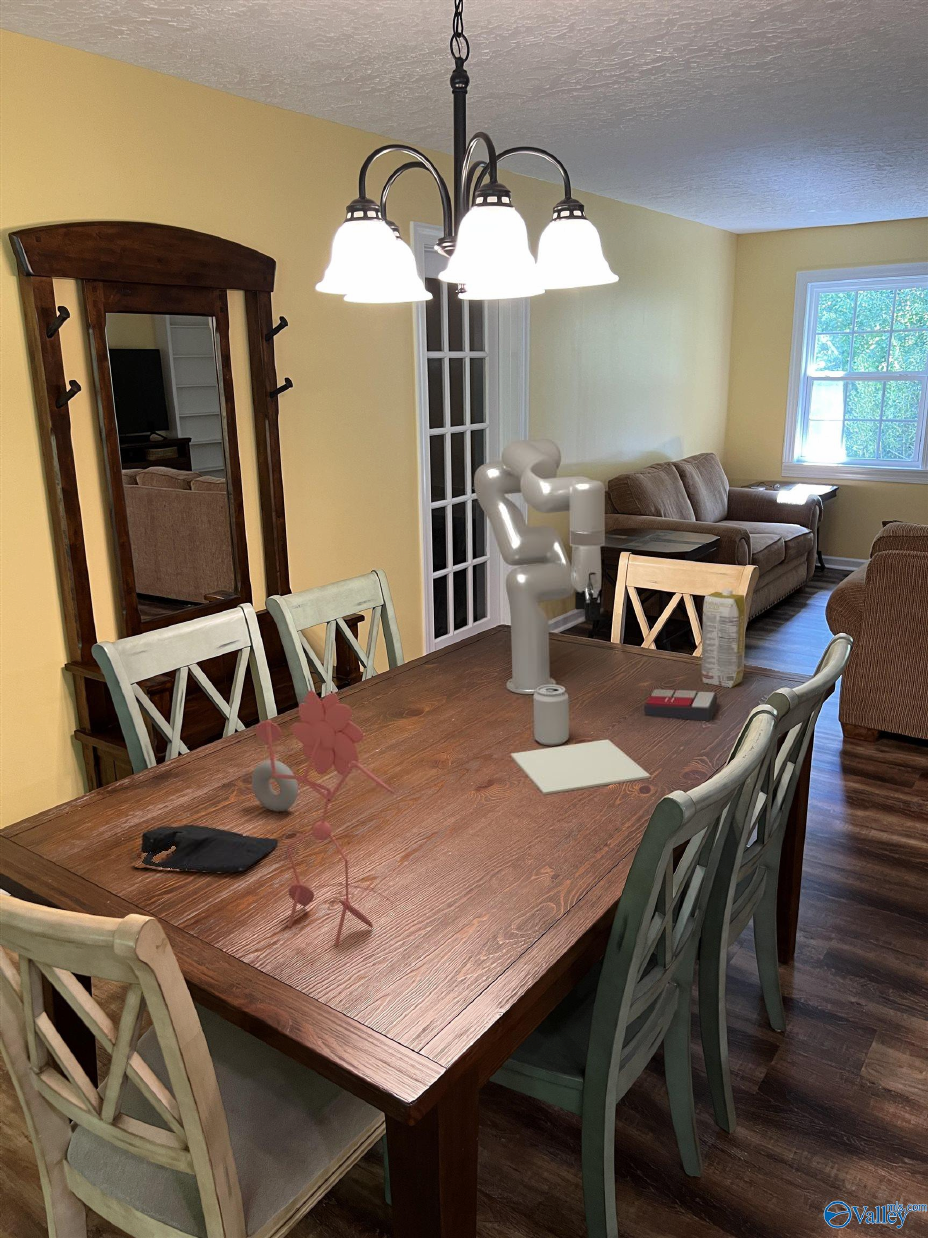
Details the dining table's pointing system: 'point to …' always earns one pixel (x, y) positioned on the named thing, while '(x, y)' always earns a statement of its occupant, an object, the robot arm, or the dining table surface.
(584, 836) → the dining table surface
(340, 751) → the pink wire flower sculpture
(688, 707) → the gray and red box
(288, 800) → the donut
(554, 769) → the mat
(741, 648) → the juice carton
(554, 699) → the can
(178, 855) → the crumpled black cloth
